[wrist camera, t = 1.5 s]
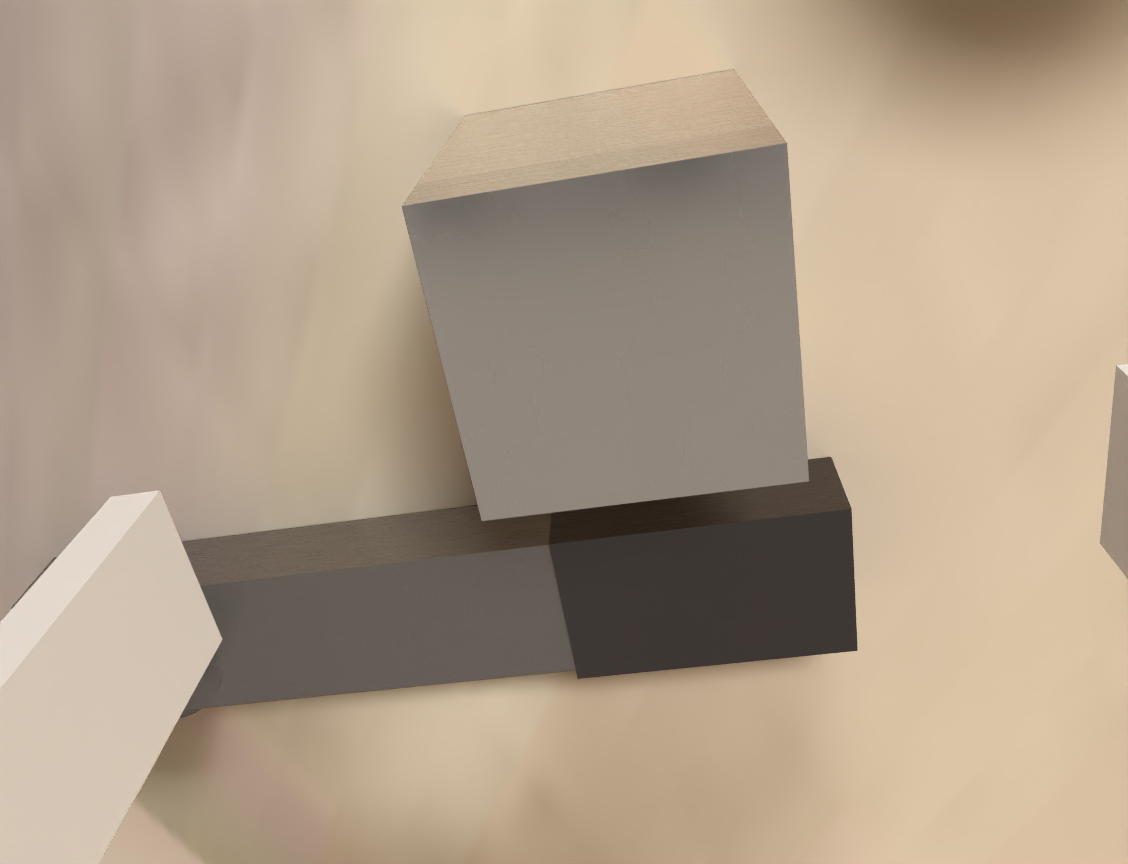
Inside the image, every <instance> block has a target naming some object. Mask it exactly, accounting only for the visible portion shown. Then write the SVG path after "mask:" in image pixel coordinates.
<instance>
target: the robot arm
mask: <svg viewBox="0 0 1128 864" xmlns="http://www.w3.org/2000/svg"><path fill="white" fill-rule="evenodd" d="M1100 544H1101V545H1102V546H1103V548H1104V549H1105V550H1106V552H1107V553H1108V554H1109V555H1110V557H1111V558H1112V559H1113V561H1114V562H1115V563H1116V564H1117V566H1118V567H1119V568H1120V570H1121V571H1122V572H1123V573H1124V575H1125V576H1126V577H1127V579H1128V364H1123V365H1116V373H1115V384H1114V395H1113V406H1112V417H1111V428H1110V439H1109V450H1108V461H1107V472H1106V483H1105V494H1104V505H1103V515H1102V526H1101V537H1100ZM221 641H222V637H221V635H220V632H219V630H218V628H217V625H216V623H215V620H214V618H213V616H212V613H211V611H210V608H209V606H208V604H207V601H206V599H205V597H204V594H203V592H202V589H201V587H200V585H199V582H198V580H197V577H196V575H195V573H194V570H193V568H192V566H191V563H190V561H189V558H188V556H187V554H186V551H185V549H184V546H183V544H182V542H181V539H180V537H179V535H178V532H177V530H176V527H175V525H174V523H173V520H172V518H171V515H170V513H169V511H168V508H167V506H166V504H165V501H164V499H163V496H162V494H161V492H160V490H158V491H151V492H143V493H135V494H128V495H120V496H112V497H110V498H109V499H108V500H107V502H106V503H105V504H104V505H103V506H102V507H101V508H100V510H99V511H98V512H97V513H96V514H95V515H94V516H93V517H92V519H91V520H90V521H89V522H88V523H87V524H86V525H85V527H84V528H83V529H82V530H81V531H80V532H79V533H78V535H77V536H76V537H75V538H74V539H73V540H72V541H71V542H70V544H69V545H68V546H67V547H66V548H65V549H64V550H63V552H62V553H61V554H60V555H59V556H58V557H57V558H56V559H55V561H54V562H53V563H52V564H51V565H50V566H49V567H48V569H47V570H46V571H45V572H44V573H43V574H42V575H41V576H40V578H39V579H38V580H37V581H36V582H35V583H34V584H33V586H32V587H31V588H30V589H29V590H28V591H27V592H26V594H25V595H24V596H23V597H22V598H21V599H20V600H19V601H18V603H17V604H16V605H15V606H14V607H13V608H12V609H11V611H10V612H9V613H8V614H7V615H6V616H5V617H4V618H3V620H2V621H1V622H0V864H99V863H100V861H101V859H102V857H103V855H104V854H105V852H106V850H107V848H108V846H109V844H110V843H111V841H112V839H113V837H114V835H115V834H116V832H117V830H118V828H119V826H120V824H121V823H122V821H123V819H124V817H125V815H126V814H127V812H128V810H129V808H130V806H131V805H132V803H133V801H134V799H135V797H136V795H137V794H138V792H139V790H140V788H141V786H142V785H143V783H144V781H145V779H146V777H147V775H148V774H149V772H150V770H151V768H152V766H153V765H154V763H155V761H156V759H157V757H158V756H159V754H160V752H161V750H162V748H163V746H164V745H165V743H166V741H167V739H168V737H169V736H170V734H171V732H172V730H173V728H174V726H175V725H176V723H177V721H178V719H179V717H180V716H181V714H182V712H183V710H184V708H185V707H186V705H187V703H188V701H189V699H190V697H191V696H192V694H193V692H194V690H195V688H196V687H197V685H198V683H199V681H200V679H201V677H202V676H203V674H204V672H205V670H206V668H207V667H208V665H209V663H210V661H211V659H212V658H213V656H214V654H215V652H216V650H217V648H218V647H219V645H220V643H221Z"/></svg>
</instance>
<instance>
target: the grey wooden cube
mask: <svg viewBox="0 0 1128 864" xmlns="http://www.w3.org/2000/svg"><path fill="white" fill-rule="evenodd" d="M402 209H403V213H404V217H405V221H406V225H407V229H408V233H409V237H410V241H411V245H412V249H413V253H414V257H415V260H416V264H417V268H418V272H419V276H420V280H421V284H422V288H423V292H424V296H425V300H426V304H427V308H428V312H429V316H430V319H431V323H432V327H433V331H434V335H435V339H436V343H437V347H438V351H439V355H440V359H441V363H442V367H443V371H444V374H445V378H446V382H447V386H448V390H449V394H450V398H451V402H452V406H453V410H454V414H455V418H456V422H457V426H458V430H459V433H460V437H461V441H462V445H463V449H464V453H465V457H466V461H467V465H468V469H469V473H470V477H471V481H472V485H473V488H474V492H475V496H476V500H477V504H478V508H479V512H480V516H481V520H482V521H487V520H495V519H503V518H512V517H520V516H528V515H536V514H545V513H553V512H561V511H569V510H577V509H586V508H594V507H602V506H610V505H619V504H627V503H635V502H643V501H651V500H660V499H668V498H676V497H684V496H693V495H701V494H709V493H717V492H725V491H734V490H742V489H750V488H758V487H767V486H775V485H783V484H791V483H799V482H808V481H809V472H808V457H807V442H806V426H805V411H804V396H803V381H802V366H801V350H800V335H799V320H798V305H797V290H796V274H795V259H794V244H793V229H792V214H791V199H790V183H789V168H788V153H787V143H786V141H785V140H784V138H783V137H782V136H781V134H780V133H779V131H778V130H777V129H776V127H775V126H774V124H773V123H772V121H771V120H770V119H769V117H768V116H767V114H766V113H765V112H764V110H763V109H762V107H761V106H760V105H759V103H758V102H757V100H756V99H755V98H754V96H753V95H752V93H751V92H750V91H749V89H748V88H747V86H746V85H745V84H744V82H743V81H742V79H741V78H740V77H739V75H738V74H737V72H736V71H735V70H734V69H733V70H727V71H721V72H715V73H710V74H704V75H698V76H692V77H687V78H681V79H675V80H669V81H664V82H658V83H652V84H646V85H640V86H635V87H629V88H623V89H617V90H612V91H606V92H600V93H594V94H589V95H583V96H577V97H571V98H566V99H560V100H554V101H548V102H543V103H537V104H531V105H525V106H520V107H514V108H508V109H502V110H497V111H491V112H485V113H479V114H474V115H468V116H465V117H464V118H463V119H462V121H461V122H460V124H459V125H458V127H457V128H456V129H455V131H454V132H453V134H452V135H451V136H450V138H449V139H448V141H447V142H446V144H445V145H444V146H443V148H442V149H441V151H440V152H439V154H438V155H437V156H436V158H435V159H434V161H433V162H432V164H431V165H430V166H429V168H428V169H427V171H426V172H425V173H424V175H423V176H422V178H421V179H420V181H419V182H418V183H417V185H416V186H415V188H414V189H413V191H412V192H411V193H410V195H409V196H408V198H407V199H406V201H405V202H404V203H403V205H402Z"/></svg>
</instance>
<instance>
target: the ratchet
mask: <svg viewBox="0 0 1128 864" xmlns="http://www.w3.org/2000/svg"><path fill="white" fill-rule="evenodd" d="M808 472H809V481H808V482H799V483H791V484H783V485H775V486H767V487H758V488H750V489H742V490H734V491H725V492H717V493H709V494H701V495H693V496H684V497H676V498H668V499H660V500H651V501H643V502H635V503H627V504H619V505H610V506H602V507H594V508H586V509H577V510H569V511H561V512H553V513H545V514H536V515H528V516H520V517H512V518H503V519H495V520H487V521H482V520H481V516H480V512H479V508H478V505H475V506H467V507H459V508H451V509H443V510H435V511H427V512H419V513H411V514H402V515H394V516H386V517H378V518H370V519H362V520H354V521H346V522H338V523H330V524H322V525H314V526H305V527H297V528H289V529H281V530H273V531H265V532H257V533H249V534H241V535H233V536H225V537H217V538H208V539H200V540H192V541H184V542H182V541H181V542H182V544H183V546H184V549H185V551H186V554H187V556H188V558H189V561H190V563H191V566H192V568H193V570H194V573H195V575H196V577H197V580H198V582H199V585H200V587H201V589H202V592H203V594H204V597H205V599H206V601H207V604H208V606H209V608H210V611H211V613H212V616H213V618H214V620H215V623H216V625H217V628H218V630H219V632H220V635H221V637H222V641H221V643H220V645H219V647H218V648H217V650H216V652H215V654H214V656H213V658H212V659H211V661H210V663H209V665H208V667H207V668H206V670H205V672H204V674H203V676H202V677H201V679H200V681H199V683H198V685H197V687H196V688H195V690H194V692H193V694H192V696H191V697H190V699H189V701H188V703H187V705H186V707H185V708H184V710H183V712H182V714H181V716H180V717H179V718H182V717H185V716H188V715H190V714H193V713H195V712H197V711H198V710H200V709H202V708H208V707H218V706H228V705H237V704H247V703H257V702H267V701H277V700H287V699H297V698H306V697H316V696H326V695H336V694H346V693H356V692H366V691H376V690H385V689H395V688H405V687H415V686H425V685H435V684H445V683H454V682H464V681H474V680H484V679H494V678H504V677H514V676H524V675H533V674H543V673H553V672H563V671H573V670H576V673H577V677H578V679H580V678H590V677H599V676H609V675H619V674H629V673H639V672H649V671H659V670H669V669H679V668H689V667H699V666H709V665H719V664H729V663H739V662H749V661H759V660H769V659H779V658H789V657H799V656H809V655H819V654H829V653H839V652H849V651H857V629H856V606H855V582H854V559H853V536H852V512H851V507H850V504H849V501H848V499H847V496H846V494H845V491H844V489H843V486H842V483H841V481H840V478H839V476H838V473H837V471H836V468H835V466H834V463H833V460H832V458H831V457H826V458H818V459H810V460H808ZM56 558H57V557H55V558H53V560H52V561H51V562H50V563H49V564H48V565H47V567H46V568H45V569H44V570H43V571H42V572H41V574H40V575H39V576H38V577H37V578H36V579H35V581H34V582H33V583H32V584H31V585H30V586H29V588H28V589H27V590H26V591H25V592H24V593H23V595H22V596H21V597H20V598H19V599H18V600H17V602H16V603H15V604H14V605H13V606H12V608H13V607H14V606H15V605H16V604H17V603H18V601H19V600H20V599H21V598H22V597H23V596H24V595H25V594H26V592H27V591H28V590H29V589H30V588H31V587H32V586H33V584H34V583H35V582H36V581H37V580H38V579H39V578H40V576H41V575H42V574H43V573H44V572H45V571H46V570H47V569H48V567H49V566H50V565H51V564H52V563H53V562H54V561H55V559H56ZM12 608H11V609H12ZM174 727H175V726H174ZM173 729H174V728H173ZM172 731H173V730H172ZM171 733H172V732H171ZM168 738H169V737H168ZM167 740H168V739H167ZM166 742H167V741H166ZM165 744H166V743H165ZM164 746H165V745H164ZM164 746H163V748H164ZM163 748H162V749H163ZM161 751H162V750H161ZM160 753H161V752H160ZM159 755H160V754H159ZM158 757H159V756H158ZM158 757H157V759H158ZM157 759H156V761H157ZM156 761H155V763H156ZM155 763H154V764H155ZM153 766H154V765H153ZM153 766H152V768H153ZM152 768H151V770H152ZM151 770H150V772H151ZM150 772H149V774H150ZM149 774H148V775H147V777H146V779H147V778H148V776H149ZM146 779H145V781H146ZM145 781H144V783H145ZM144 783H143V785H144ZM143 785H142V786H141V788H140V790H139V792H140V791H141V789H142V787H143ZM139 792H138V793H139Z"/></svg>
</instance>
